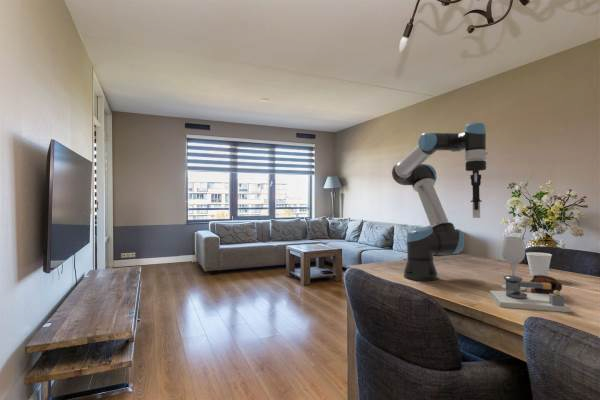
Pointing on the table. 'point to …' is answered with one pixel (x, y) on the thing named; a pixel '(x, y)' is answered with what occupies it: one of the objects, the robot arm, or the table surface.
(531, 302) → the level board
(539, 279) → the brown animal figurine
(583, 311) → the table surface
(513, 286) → the capstan
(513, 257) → the wineglass
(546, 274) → the cup
